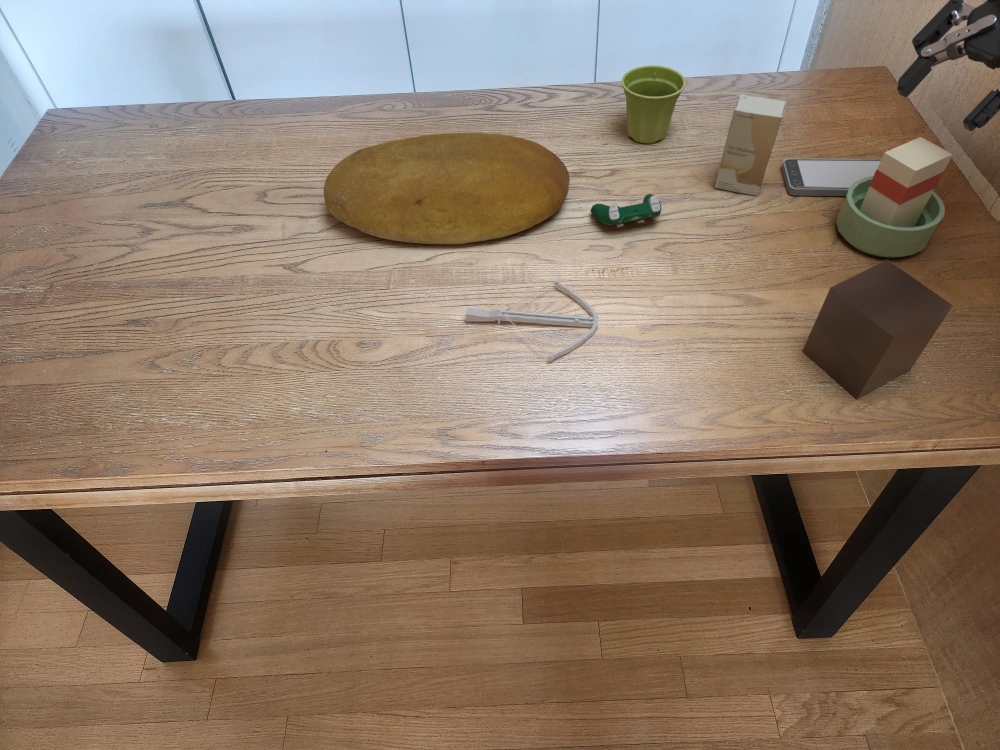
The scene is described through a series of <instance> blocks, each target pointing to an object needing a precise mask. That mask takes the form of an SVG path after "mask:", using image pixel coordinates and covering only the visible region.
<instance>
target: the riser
mask: <svg viewBox="0 0 1000 750" xmlns="http://www.w3.org/2000/svg"><path fill="white" fill-rule="evenodd" d="M952 308H953V304H952V303H951V302H949V301H948V300H946V299H945V298H943V297H942V296H940V295H939V294H938V293H937V292H935V291H933V290H932V289H931V288H929V287H927V285H925V284H923V283H922V282H921V281H919V280H918V279H916V278H915V277H913V276H912V275H911V274H909V273H907V272H906V271H905V270H903V269H902V268H900V266H897V265H896V264H895V263H894V262H892V261H890V260H889V259H885V260H883V261H882V262H879V263H877V264H875V265H873V266H871V267H869V268H867V269H865V270H862V271H861V272H858V273H857V274H855V275H853V276H851V277H848V278H847V279H845V280H842V281H841V282H839V283H837V284H834V285H832V286H831V287H829V289H828V292H827V294H826V297H825V298H824V301H823V303H822V305H821V307H820V310H819V312H818V315H817V317H816V319H815V321H814V324H813V326H812V328H811V330H810V332H809V335H808V337H807V339H806V342H805V343H804V346H803V348H802V353H804V354H805V355H806V356H807V357H808V358H809V359H811V360H812V362H814V363H815V365H817V366H818V367H819V368H821V369H822V370H823V371H824V372H825V373H826V374H827V375H829V377H831V378H832V379H833V380H834V381H835V382H836V383H838V384H839V385H840V386H841V387H842V388H843V389H844V390H846V391H847V392H848V393H849V394H850V395H851V396H852V397H853V398H855V399H856V400H858V399H860V398H862V397H864V396H865V395H868V394H870V393H871V392H873V391H875V390H876V389H878V388H881V387H882V386H884V385H886V384H887V383H889V382H890V381H893V380H895V379H896V378H898V377H900V376H902V375H904V374H906V373H907V372H909V371H912V368H913V367H914V365H915V364H916V363H917V362H918V359H919V358H920V357H921V355H922V353H923V352H924V351H925V349H926V348H927V346H928V344H929V343H930V341H931V339H933V336H935V334H936V332H937V330H938V329H939V327H940V326H941V324H942V323H943V321H944V320H945V319H946V317H947V315H949V314H948V313H949V312H950V311H951V309H952Z"/></svg>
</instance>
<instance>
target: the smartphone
mask: <svg viewBox="0 0 1000 750" xmlns="http://www.w3.org/2000/svg"><path fill="white" fill-rule="evenodd" d="M881 159H882V158H785V159H783V161H782V164H781V167H780V168H781V172H782V177H783V180H784V185H785V189H786V192H787V194H789V195H790V196H794V197H795V196H800V197H803V196H804V197H806V196H807V197H815V196H816V197H845V196H846V194H847V191H848V189H849V188H850V187H851V186H852V185H853V184H854V183H855V182H856V181H858V180H861V179H863V178H866V177H871V176H874V174H875V171H876V169H877V168H878V166H879V164H880V161H881Z"/></svg>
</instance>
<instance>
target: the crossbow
mask: <svg viewBox="0 0 1000 750" xmlns="http://www.w3.org/2000/svg"><path fill="white" fill-rule="evenodd" d="M553 284H554V286H555V288H556V289H559V290H560V291H562V292H563V293H565V294H566V295H568V296H569V297H570V298H572V299H573V300H574V301H575V302H577V303H578V304H579V305H580V306H581V307H582V308H583V309H585V311H587V312H588V314H589V315H590V316H587V315H580V314H579V313H575V314H574V315H573V314H560V313H548V312H539V311H537V312H535V311H525V310H517V309H514V310H512V307H514V306H516V305H518V304H520V303H521V302H523V301H525V300H526V299H529V298H530V297H532V296H534V295H535V294H537V293H539V292H541V291H542V290H544V289H546V288H548V287H549V286H551V285H553ZM510 308H511V310H510ZM494 321H497V325H498V326H499V325H500V324H501V321H503V322H510V324H512V325H513V326H514V327H515V328H516V329H518V331H520V332H521V333H522V334H523V335H525V337H527V338H528V339H529V341H531V342H532V343H533V344H534V345H536V346H537V347H538V348H539V349H540V350H541V351H542V352H543V353H545V355H547V361H548V362H553V361H554V360H556V359H557V358H560V357H562V356H564V355H566V354H568V353H569V352H571V351H573V350H575V349H576V348H578V347H580V346H581V345H582V344H584V343H585V342H586V341H588V340H589V339H590V338H592V337H593V336H594V334H595V333H596V332H597V330H598V329H599V315H598V313H597V312H596V311H595V309H594V308H593V307H592V306H591V305H590V304H589V303H588V302H587V301H586V300H585V299H584V298H582V297H581V296H580V295H578V293H576V292H574V291H573V290H572V289H571V288H569V287H568V286H566V285H564V284H563V283H561V282H560V280H554V281H553V282H551V283H550V284H548V285H546V286H544V287H542V288H540V289H539V290H537V291H535V292H534V293H532V294H530V295H528V296H527V297H525V298H523V299H521V300H520V301H518V302H516V303H514V304H512V305H510V306H509V307H507V308H506V309H500V308H498V309H493V310H487V309H486V310H485V309H480V308H474V307H473V308H472V307H466V310H465V322H494ZM514 322H517V323H528V324H529V323H530V324H540V325H541V324H542V325H555V326H567V327H579V328H590V329H589V330H588V331H587V332H586V333H584V335H582V336H581V337H580V338H579V339H577V340H575V341H573V342H572V343H570V344H569V345H567V346H566V347H564V348H561V349H560V350H557V351H555V352H553V353H551V354H549V353H547V351H545V350H544V349H543V347H541V346H540V345H539V344H537V342H535V341H534V340H533V339H532V338H530V336H528V334H526V333H525V332H524V331H523V330H522V329H521V328H519V327H518V325H516V324H515V323H514Z"/></svg>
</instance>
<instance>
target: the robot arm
mask: <svg viewBox="0 0 1000 750" xmlns="http://www.w3.org/2000/svg"><path fill="white" fill-rule="evenodd" d="M964 21H966V26H963V27H961V28H959V29H956V30H954V31H952V32H950V33H948V32H949V31H950V30H951V29H952V28H953V27H959V25H960V24H961V23H962V22H964ZM947 33H948V34H947ZM962 42H963V43H962ZM911 43H912V45H913V48H914V51H915V53H916V55H917V57H916V58H915V60H914V61H913V62H912V63H911V65H909V66H908V68H907V69H906V70H905V71H904V72H903V74H902V75H901V76H900V77H899V79H898V81H897V84H898V85H897V87H896V90H897V92H898V94H899V95H900V96H901V97H903V98H908V97H909V96H910V95H911V93H913V92H914V90H915V89H916V88H917V87H918V86H919V85H920V84H921V83H922V82H923V80H924V79H925V78H927V76H928V75H929V74H930V73H931V72H932V70H933V69H932V68H933V67H935V66H937V65H939V64H942V63H945V62H947V61H956V60H958V59H961V58H963V57H966V56H967V59H969V60H971V61H973V62H977V63H983V64H984V65H985V66H986V67H987V68H989V69H991V70H994V71H995V69H1000V0H986V1H985V2H983V3H981V4H980V5H978V6H976V7H974V6H973V5H970V4H968V3H966V2H965V1H964V0H948V1H947V2H946V3H945V4H944V5H943V7H941V9H940V10H938V11H937V13H936V14H935V15H934V16H933V17H932V18H931V19H930V20H929V21H928V22H927V23H926V24H925V25H924V27H923V28H922V29H920V30H919V31H918V32H917V34H916V35H915V36H914V37H913V38H912V40H911ZM960 43H962V44H960ZM999 112H1000V76H999V77H998V85H997V89H996V90H993V89H991V90H990V91H989V92H988V93H987V94H986V95H985V96H984V98H983V99H982V100H981V101H980V102H979V103H978V104H977V105H976V106H975V107H974V108H973V109H972V110H971V111H970V112H969V113H968V114H967V115H966V116H965V118H963V120H962V125H963V128H964V129H965V130H967V131H969V132H973V131H974V130H976V129H981V128H983V127H984V126H986V125H987V124H988V123H989V122H990V121H991V120H992V119H993V118H994V117H995V116H996V115H997V114H998V113H999Z"/></svg>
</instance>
